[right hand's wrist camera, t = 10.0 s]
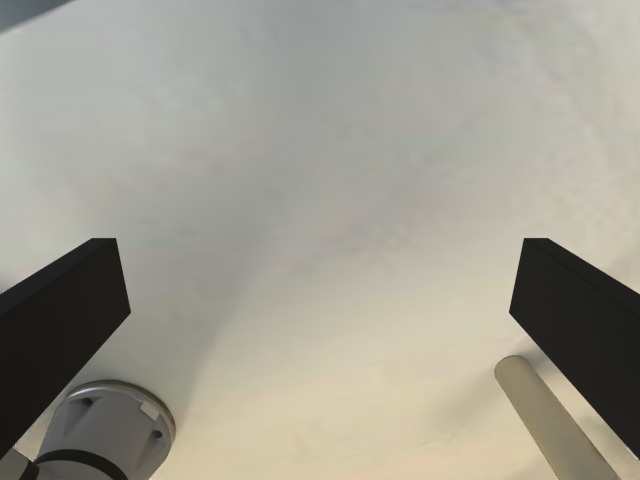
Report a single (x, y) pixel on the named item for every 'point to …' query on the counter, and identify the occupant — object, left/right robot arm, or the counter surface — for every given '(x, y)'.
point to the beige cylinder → (551, 424)
